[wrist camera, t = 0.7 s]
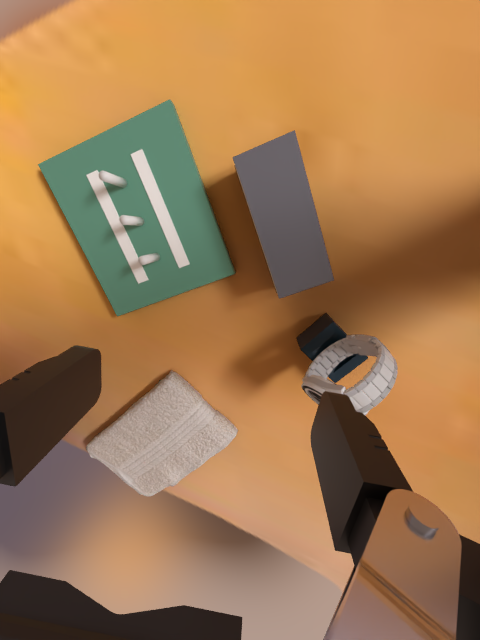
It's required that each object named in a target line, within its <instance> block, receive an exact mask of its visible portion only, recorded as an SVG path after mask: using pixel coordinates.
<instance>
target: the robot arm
mask: <svg viewBox="0 0 480 640" xmlns="http://www.w3.org/2000/svg"><path fill="white" fill-rule="evenodd" d="M100 393H101V353H100V351H99V350H98V349H93V348H88V347H82V346H73V347H71V348H70V349H68V350H66V351H65V352H63V353H61V354H60V355H58V356H56V357H53V358H50V359H47V360H44V361H41V362H38V363H36V364H35V365H33V366H31V367H30V368H28V369H26V370H25V371H24V373H23V372H21V373H19V374H18V375H16V376H14V377H13V378H12V380H10V379H9V380H8V381H6V382H4V383H2V384H1V385H0V484H5V485H10V486H17V485H18V484H19V483H20V482H21V481H22V480H23V478H24V477H25V476H26V475H27V474H28V473H29V472H30V471H31V470H32V469H33V468H34V467H35V466H36V465H37V464H38V463H39V462H40V461H41V460H42V459H43V458H44V457H45V456H46V455H47V454H48V452H49V451H50V450H51V449H52V448H53V447H54V446H55V445H56V444H57V443H58V442H59V441H60V440H61V439H62V438H63V437H64V436H65V435H66V434H67V433H68V432H69V431H70V430H71V429H72V428H73V427H74V426H75V425H76V423H77V422H78V421H79V420H80V419H81V418H82V417H83V416H84V415H85V414H86V413H87V412H88V411H89V410H90V409H91V408H92V407H93V406H94V405H95V403H96V402H97V400H98V398H99V396H100ZM311 447H312V451H313V455H314V460H315V464H316V469H317V473H318V477H319V482H320V486H321V491H322V495H323V499H324V504H325V508H326V512H327V517H328V521H329V526H330V530H331V534H332V539H333V543H334V547H335V550H336V551H341V552H346V553H351V555H352V558H353V562H354V568H353V570H352V572H351V574H350V577H349V579H348V581H347V584H346V586H345V589H344V591H343V593H342V596H341V598H340V601H339V603H338V605H337V608H336V610H335V613H334V615H333V617H332V620H331V622H330V625H329V627H328V629H327V632H326V634H325V636H324V639H323V640H480V544H478V543H476V542H474V541H472V540H470V539H468V538H465V537H463V536H461V535H459V534H458V531H457V529H456V528H455V526H454V525H453V523H452V522H451V521H450V519H449V518H448V517H447V516H446V515H445V514H444V513H443V512H442V511H441V510H440V509H439V508H438V507H437V506H436V505H434V504H433V503H432V502H430V501H429V500H427V499H426V498H424V497H423V496H421V495H419V494H417V493H414V492H413V491H412V489H411V487H410V485H409V484H408V482H407V480H406V479H405V477H404V475H403V473H402V472H401V470H400V468H399V466H398V465H397V463H396V461H395V459H394V458H393V456H392V454H391V453H390V451H388V447H387V446H386V444H385V442H384V440H382V439H381V435H380V434H379V432H378V430H377V428H376V427H375V425H374V424H373V423H372V422H371V421H370V420H369V419H368V418H367V417H366V416H365V415H364V414H363V413H361V412H356V410H355V408H354V406H353V404H352V402H351V400H350V398H349V397H348V396H347V395H344V394H339V393H333V392H328V391H325V392H323V394H322V396H321V399H320V403H319V406H318V409H317V412H316V416H315V419H314V422H313V426H312V430H311ZM241 630H242V617H239V616H234V615H229V614H224V613H219V612H214V611H209V610H204V609H199V608H194V607H190V606H177V607H170V608H164V609H157V610H150V611H143V612H137V613H129V614H115V613H113V612H111V611H109V610H107V609H106V608H105V607H103V606H102V605H100V604H99V603H97V602H95V601H94V600H93V599H91V598H90V597H88V596H86V595H85V594H84V593H82V592H81V591H79V590H78V589H76V588H75V587H73V586H72V585H70V584H69V583H67V582H66V581H61V580H56V579H51V578H46V577H41V576H36V575H32V574H27V573H22V572H17V571H12V570H10V571H9V572H8V573H7V574H6V576H5V577H4V579H3V580H2V581H1V583H0V640H241Z"/></svg>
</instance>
